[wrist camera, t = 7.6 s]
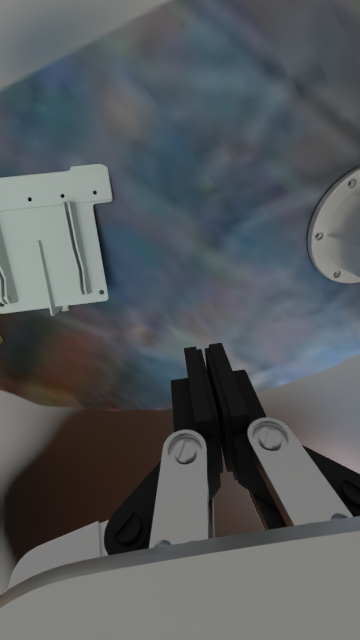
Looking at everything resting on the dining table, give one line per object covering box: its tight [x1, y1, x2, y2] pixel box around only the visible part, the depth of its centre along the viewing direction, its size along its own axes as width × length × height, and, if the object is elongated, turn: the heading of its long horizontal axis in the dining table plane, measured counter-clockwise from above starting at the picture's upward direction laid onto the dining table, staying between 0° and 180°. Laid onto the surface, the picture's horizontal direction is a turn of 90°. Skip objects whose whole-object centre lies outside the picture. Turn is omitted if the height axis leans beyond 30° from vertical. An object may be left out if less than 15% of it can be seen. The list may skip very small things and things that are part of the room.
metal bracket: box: [0, 164, 113, 316], centre depth 27 cm, size 14×6×15 cm
